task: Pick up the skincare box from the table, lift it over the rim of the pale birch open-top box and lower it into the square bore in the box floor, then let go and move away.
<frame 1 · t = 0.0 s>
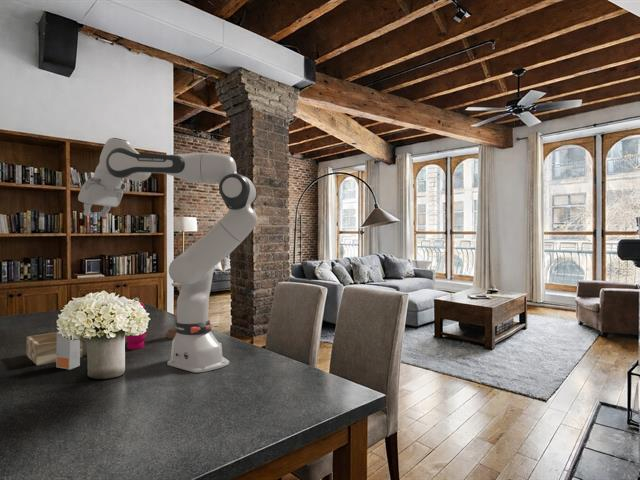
hand: (94, 216, 148), 52 cm above the table, tool tilted 20°, fingers open, 8 cm apart
supplement box: (102, 338, 175), on the table
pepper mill: (135, 347, 161), on the table
socket box: (54, 356, 148), on the table
skincare box: (68, 367, 137), on the table
candle holder: (183, 336, 179), on the table
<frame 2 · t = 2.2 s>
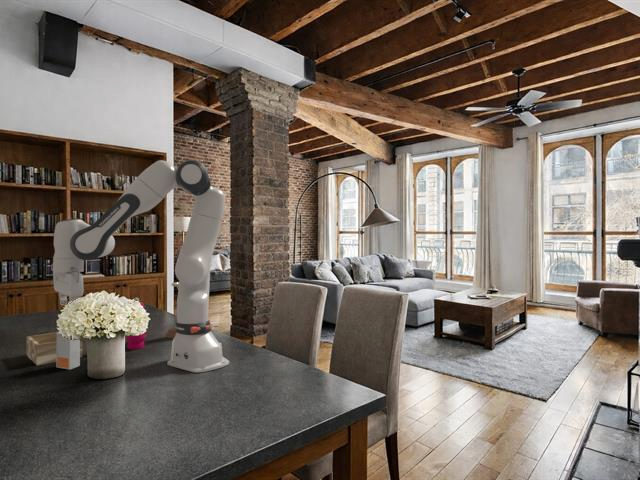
hand: (67, 307, 136), 20 cm above the table, tool pointing down, fingers open, 8 cm apart
nothing on the table moved.
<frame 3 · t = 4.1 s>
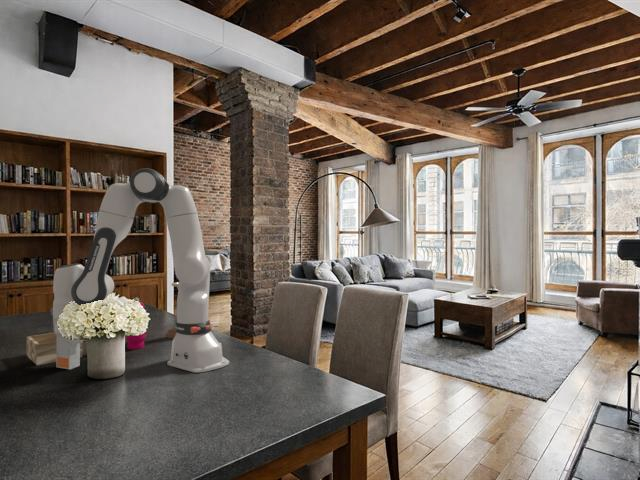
hand: (68, 351, 137), 5 cm above the table, tool pointing down, fingers closed on skincare box, 7 cm apart
skincare box: (68, 367, 137), on the table, touching gripper
everything else where it was.
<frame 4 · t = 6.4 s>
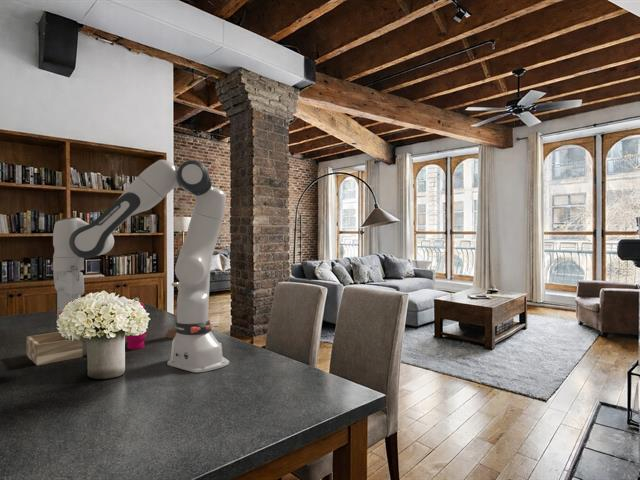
hand: (69, 305, 136), 21 cm above the table, tool pointing down, fingers closed on skincare box, 7 cm apart
skincare box: (69, 322, 136), point 15 cm above the table, touching gripper
everything else where it was.
when the fingers open (16 cm above the table, at t = 8.8 s): skincare box drops 9 cm, resting in socket box.
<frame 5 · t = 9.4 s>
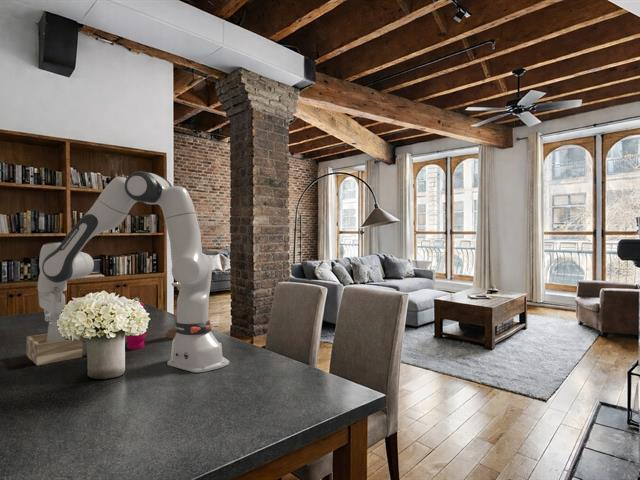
hand: (51, 323, 148), 12 cm above the table, tool pointing down, fingers open, 7 cm apart
skincare box: (53, 356, 148), resting in socket box, touching gripper
everything else where it was.
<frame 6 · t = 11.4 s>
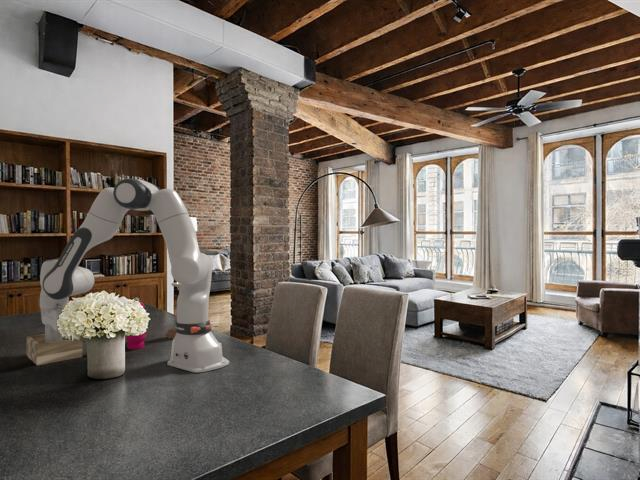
hand: (54, 339, 148), 6 cm above the table, tool pointing down, fingers closed on skincare box, 6 cm apart
skincare box: (53, 356, 148), resting in socket box, touching gripper
everything else where it was.
when the fingers open (6 cm above the table, at t = 11.4 s): skincare box stays where it is, resting in socket box.
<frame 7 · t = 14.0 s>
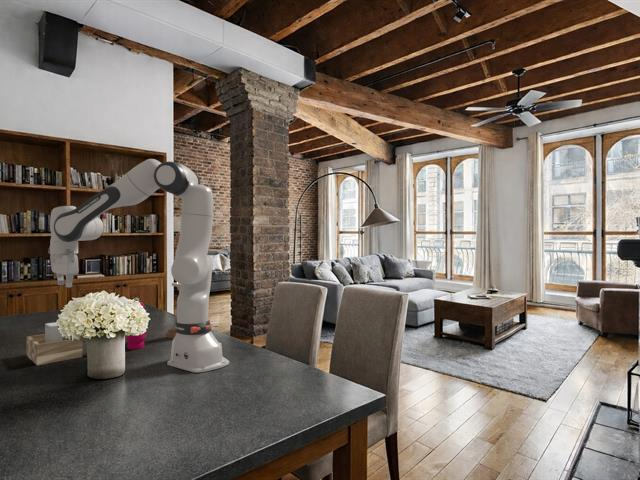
hand: (64, 286, 150), 26 cm above the table, tool pointing down, fingers open, 8 cm apart
skincare box: (53, 356, 148), resting in socket box
everything else where it was.
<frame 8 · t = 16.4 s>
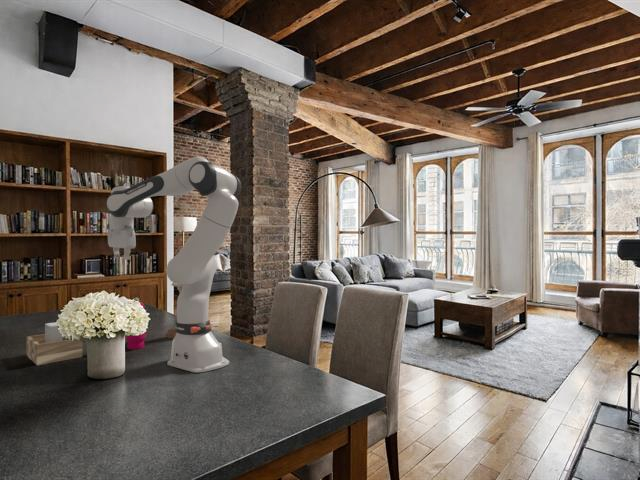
hand: (121, 258, 166), 35 cm above the table, tool pointing down, fingers open, 8 cm apart
nothing on the table moved.
at the end: skincare box 0.2 cm off-centre on the socket box, point 0.0 cm above the socket box's base; skincare box tilted 0°; the gripper is holding nothing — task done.
